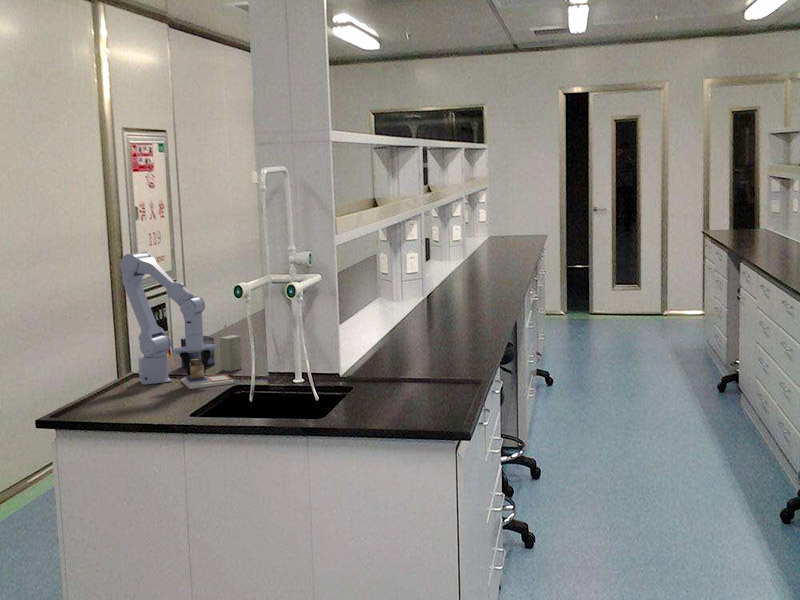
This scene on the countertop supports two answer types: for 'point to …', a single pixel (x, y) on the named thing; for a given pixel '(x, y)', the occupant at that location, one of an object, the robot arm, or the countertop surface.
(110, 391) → the countertop surface
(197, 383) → the board
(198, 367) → the stamp
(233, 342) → the skincare box
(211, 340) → the small box
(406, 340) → the countertop surface
